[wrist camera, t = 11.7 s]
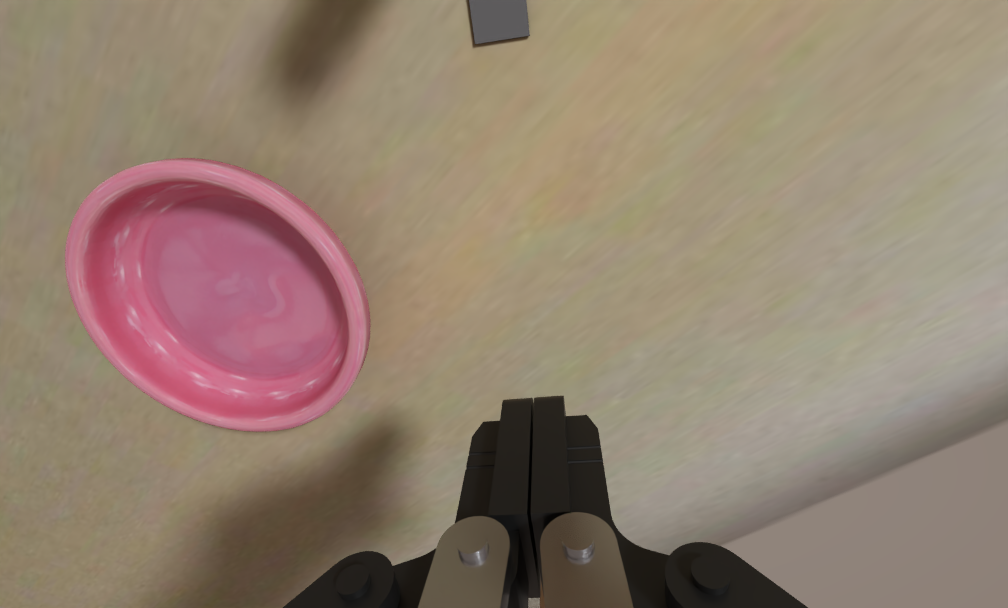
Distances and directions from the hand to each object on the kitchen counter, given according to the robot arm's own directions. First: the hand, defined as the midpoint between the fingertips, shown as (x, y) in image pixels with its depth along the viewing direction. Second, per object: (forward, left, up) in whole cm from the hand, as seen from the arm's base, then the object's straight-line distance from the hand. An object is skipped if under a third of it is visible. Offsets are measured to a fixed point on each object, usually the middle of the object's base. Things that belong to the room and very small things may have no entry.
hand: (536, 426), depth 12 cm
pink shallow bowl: (+13, -1, -11) cm, 17 cm away
